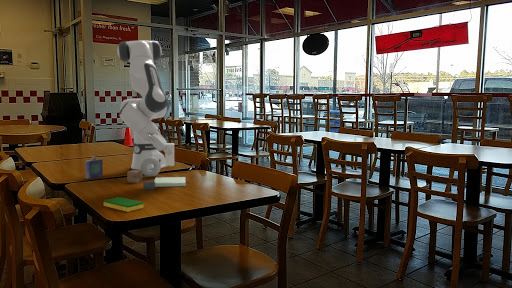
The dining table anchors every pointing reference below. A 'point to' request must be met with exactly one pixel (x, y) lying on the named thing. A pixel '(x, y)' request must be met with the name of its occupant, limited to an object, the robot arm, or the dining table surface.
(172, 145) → the tall block
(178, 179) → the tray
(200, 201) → the dining table surface
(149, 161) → the donut
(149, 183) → the rubber puck
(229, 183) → the dining table surface
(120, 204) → the dish sponge
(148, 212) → the dining table surface
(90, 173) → the flask
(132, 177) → the walnut cube
